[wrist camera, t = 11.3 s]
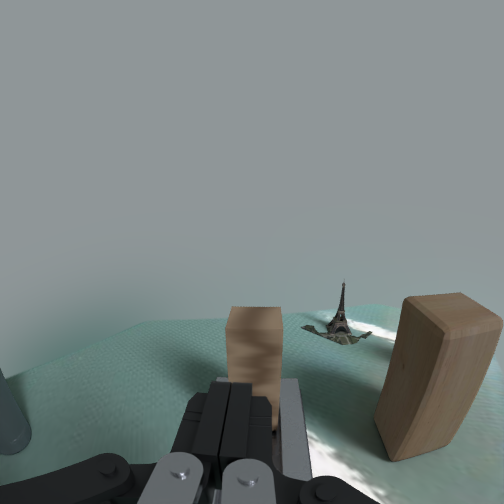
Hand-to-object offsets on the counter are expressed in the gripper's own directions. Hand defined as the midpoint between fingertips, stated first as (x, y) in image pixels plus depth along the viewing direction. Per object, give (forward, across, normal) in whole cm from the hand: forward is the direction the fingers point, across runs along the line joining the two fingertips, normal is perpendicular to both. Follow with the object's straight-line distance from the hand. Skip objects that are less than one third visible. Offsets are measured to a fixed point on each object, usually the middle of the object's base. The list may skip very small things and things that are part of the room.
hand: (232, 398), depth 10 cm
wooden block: (+15, -22, +24) cm, 36 cm away
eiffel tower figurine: (+50, -18, +24) cm, 58 cm away
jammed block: (+21, 0, +22) cm, 30 cm away
